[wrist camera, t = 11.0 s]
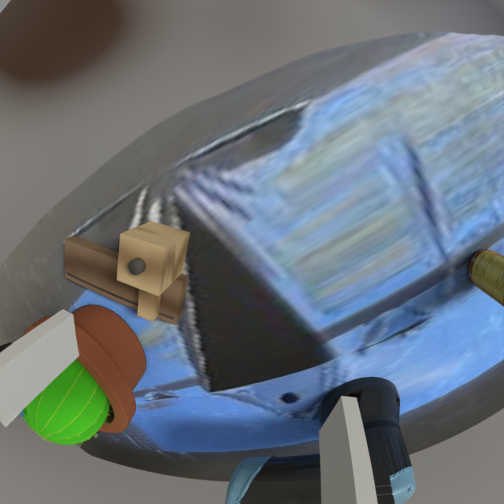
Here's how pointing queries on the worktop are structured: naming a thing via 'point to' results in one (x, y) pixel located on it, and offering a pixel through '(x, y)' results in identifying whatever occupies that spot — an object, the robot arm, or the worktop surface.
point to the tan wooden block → (151, 262)
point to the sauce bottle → (488, 273)
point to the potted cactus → (91, 381)
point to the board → (105, 278)
